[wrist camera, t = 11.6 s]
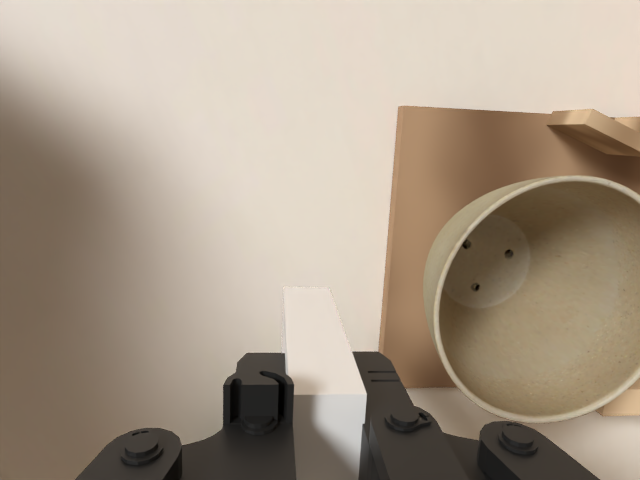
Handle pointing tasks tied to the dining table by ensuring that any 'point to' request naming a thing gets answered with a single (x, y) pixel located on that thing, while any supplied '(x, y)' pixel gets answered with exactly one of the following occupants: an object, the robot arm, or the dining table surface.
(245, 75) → the dining table surface
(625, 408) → the slot board
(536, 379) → the flower pot
